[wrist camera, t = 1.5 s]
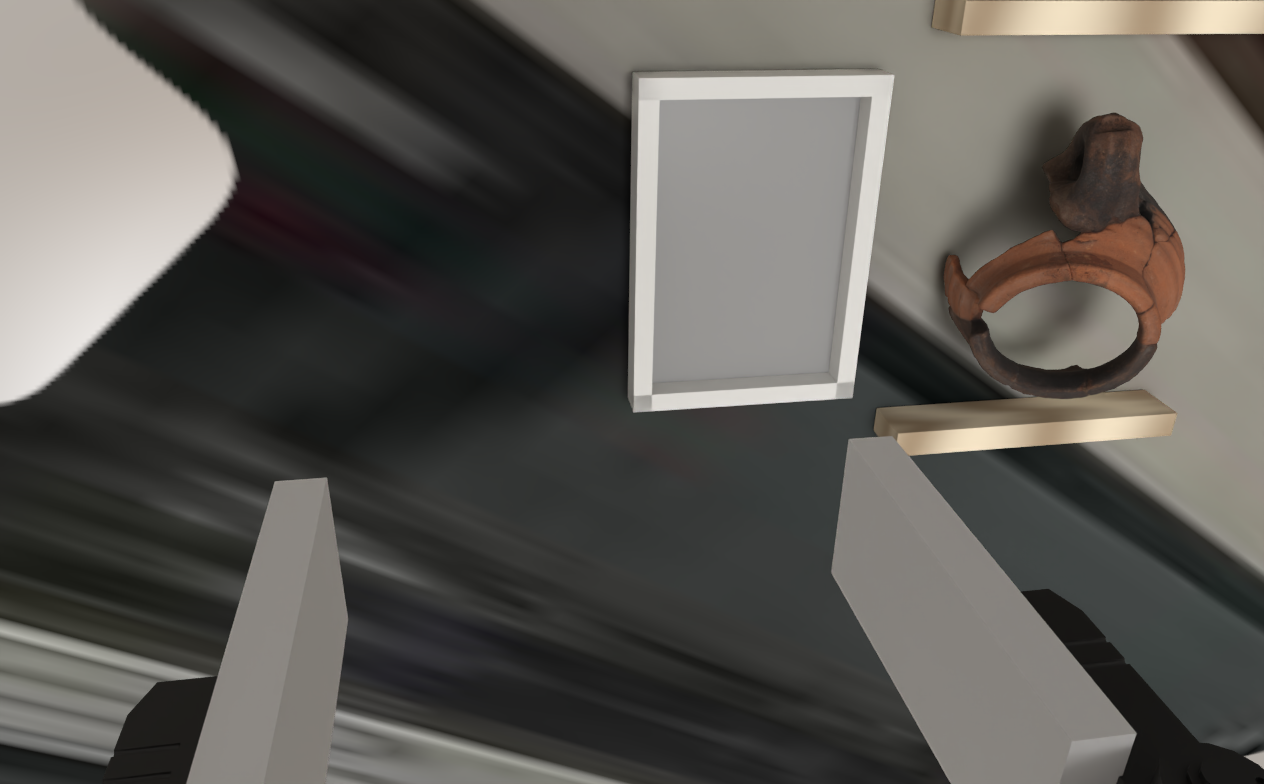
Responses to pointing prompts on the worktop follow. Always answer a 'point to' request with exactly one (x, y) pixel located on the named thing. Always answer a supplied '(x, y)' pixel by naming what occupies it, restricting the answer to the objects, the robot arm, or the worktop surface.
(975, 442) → the guide channel
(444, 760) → the worktop surface
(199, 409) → the worktop surface
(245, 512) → the worktop surface
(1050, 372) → the broken clay vessel
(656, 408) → the tray
